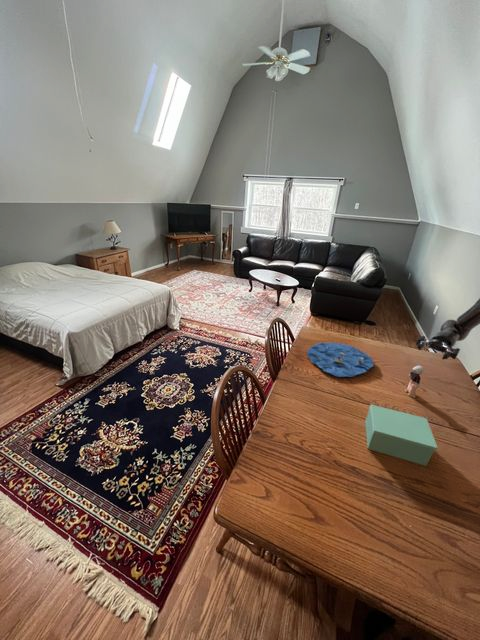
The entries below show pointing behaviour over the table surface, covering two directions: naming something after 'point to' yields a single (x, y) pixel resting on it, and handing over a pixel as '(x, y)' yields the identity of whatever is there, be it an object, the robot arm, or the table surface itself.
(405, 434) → the lunchbox lid
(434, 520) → the table surface
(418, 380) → the grandmother figurine
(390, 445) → the block
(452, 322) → the robot arm
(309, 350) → the blue sea diorama
